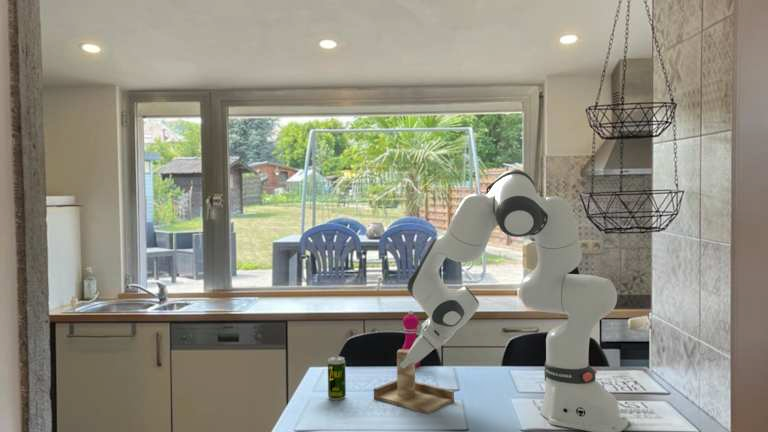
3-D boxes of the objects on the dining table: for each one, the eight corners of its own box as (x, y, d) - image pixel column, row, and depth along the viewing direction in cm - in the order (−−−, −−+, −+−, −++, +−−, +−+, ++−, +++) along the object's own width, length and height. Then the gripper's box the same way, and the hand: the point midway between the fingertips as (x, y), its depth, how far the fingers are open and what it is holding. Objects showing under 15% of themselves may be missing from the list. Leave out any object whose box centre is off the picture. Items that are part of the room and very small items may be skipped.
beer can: (329, 394, 174) (328, 356, 173) (346, 394, 174) (345, 356, 173) (327, 400, 168) (326, 361, 168) (345, 400, 168) (344, 360, 168)
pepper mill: (421, 362, 209) (420, 308, 208) (420, 367, 201) (420, 312, 201) (402, 361, 209) (401, 308, 209) (400, 367, 202) (400, 312, 202)
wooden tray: (454, 401, 167) (453, 391, 167) (427, 413, 157) (427, 403, 157) (401, 387, 180) (401, 378, 180) (373, 398, 170) (373, 388, 170)
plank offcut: (415, 391, 172) (414, 349, 172) (413, 395, 169) (413, 352, 169) (399, 390, 173) (398, 349, 173) (397, 394, 170) (396, 352, 170)
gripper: (431, 316, 180) (402, 346, 182) (424, 330, 160) (391, 363, 162) (445, 331, 179) (415, 360, 181) (440, 347, 159) (406, 379, 161)
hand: (404, 362), depth 171 cm, fingers open, 8 cm apart
